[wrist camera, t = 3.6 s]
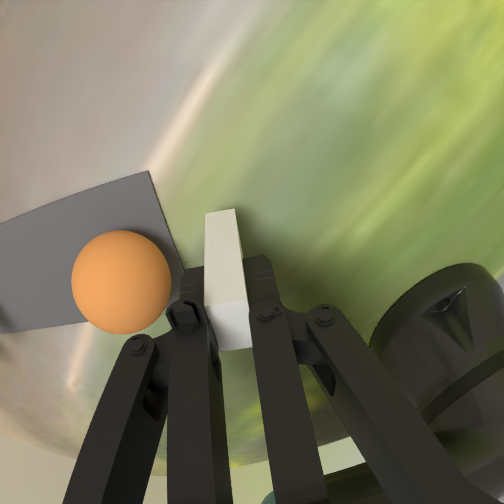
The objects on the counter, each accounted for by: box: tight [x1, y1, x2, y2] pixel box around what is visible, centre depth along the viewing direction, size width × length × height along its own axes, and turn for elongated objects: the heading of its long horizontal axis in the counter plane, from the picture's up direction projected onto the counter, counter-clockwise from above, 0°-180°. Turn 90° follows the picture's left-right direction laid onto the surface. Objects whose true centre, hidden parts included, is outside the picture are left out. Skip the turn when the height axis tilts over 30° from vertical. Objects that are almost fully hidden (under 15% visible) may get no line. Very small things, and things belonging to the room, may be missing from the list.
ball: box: [71, 230, 171, 334], centre depth 17 cm, size 6×6×6 cm
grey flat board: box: [0, 170, 185, 334], centre depth 20 cm, size 27×10×1 cm, turn 101°
